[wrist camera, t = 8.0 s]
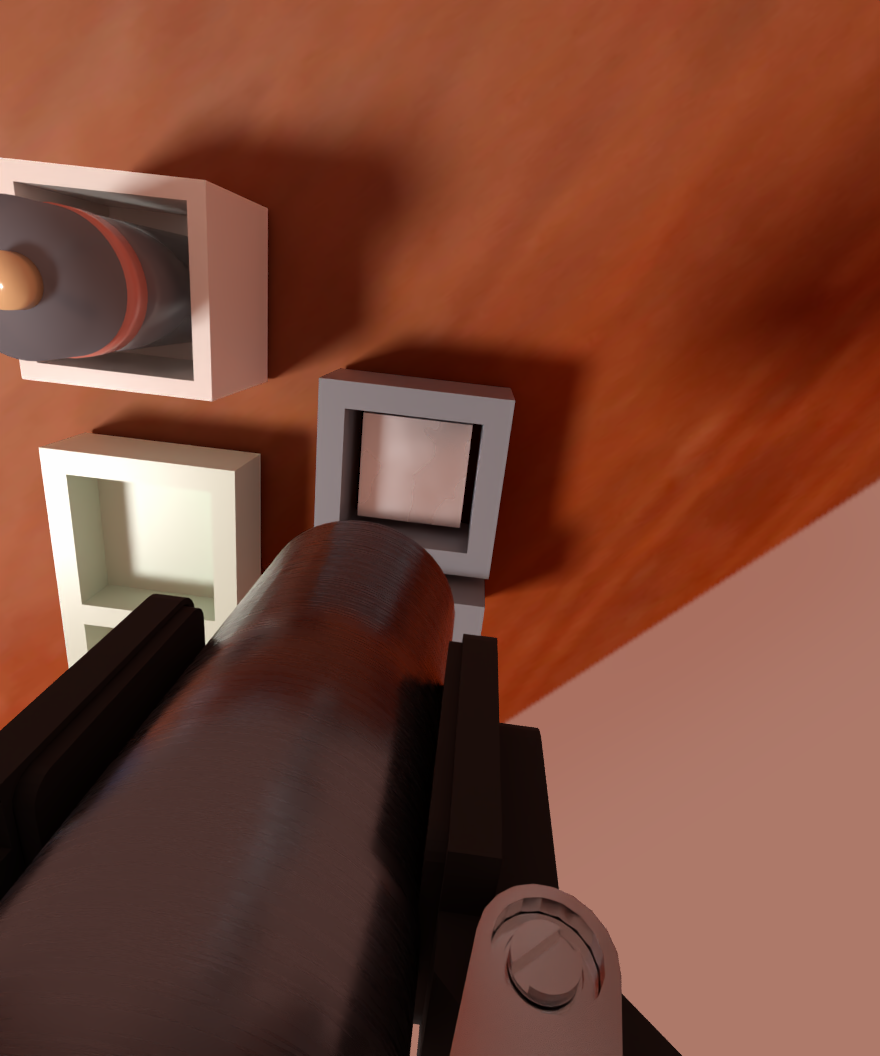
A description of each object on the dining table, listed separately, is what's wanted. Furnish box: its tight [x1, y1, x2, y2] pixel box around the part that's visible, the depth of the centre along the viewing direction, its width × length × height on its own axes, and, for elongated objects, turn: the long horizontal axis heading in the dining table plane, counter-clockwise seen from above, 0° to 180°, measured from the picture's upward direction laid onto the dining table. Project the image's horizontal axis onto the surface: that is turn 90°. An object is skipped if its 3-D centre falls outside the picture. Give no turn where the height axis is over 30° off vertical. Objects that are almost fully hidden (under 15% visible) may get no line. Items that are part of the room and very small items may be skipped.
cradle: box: [314, 368, 515, 642], centre depth 24 cm, size 10×7×5 cm
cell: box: [0, 520, 455, 1056], centre depth 8 cm, size 4×4×10 cm
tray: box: [39, 433, 261, 668], centre depth 28 cm, size 15×8×3 cm, turn 174°
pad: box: [357, 411, 473, 528], centre depth 25 cm, size 4×4×2 cm
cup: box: [0, 158, 268, 401], centre depth 20 cm, size 7×7×10 cm
